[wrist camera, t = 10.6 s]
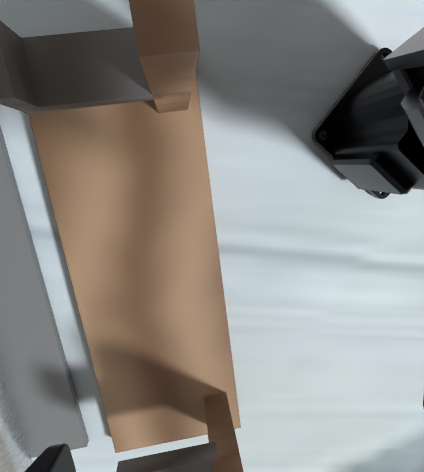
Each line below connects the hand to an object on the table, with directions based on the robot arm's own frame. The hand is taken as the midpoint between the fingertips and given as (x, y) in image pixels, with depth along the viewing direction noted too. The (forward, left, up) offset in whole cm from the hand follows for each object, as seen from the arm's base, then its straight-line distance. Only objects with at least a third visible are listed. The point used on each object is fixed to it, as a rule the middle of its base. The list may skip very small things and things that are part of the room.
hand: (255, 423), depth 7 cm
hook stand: (+3, -3, -13) cm, 13 cm away
